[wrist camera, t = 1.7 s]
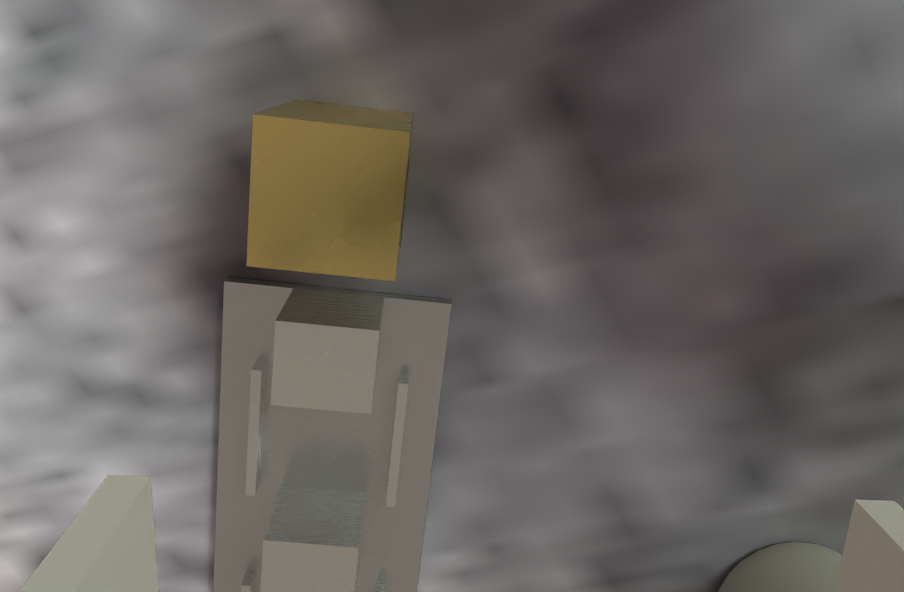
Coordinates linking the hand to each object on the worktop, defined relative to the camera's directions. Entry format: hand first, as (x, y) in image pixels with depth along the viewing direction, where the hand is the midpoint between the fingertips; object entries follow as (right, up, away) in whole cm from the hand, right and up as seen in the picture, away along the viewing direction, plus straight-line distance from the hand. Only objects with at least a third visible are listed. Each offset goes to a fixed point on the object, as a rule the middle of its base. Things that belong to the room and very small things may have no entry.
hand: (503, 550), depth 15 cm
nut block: (-5, +10, +16) cm, 19 cm away
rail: (-7, -5, +20) cm, 22 cm away
